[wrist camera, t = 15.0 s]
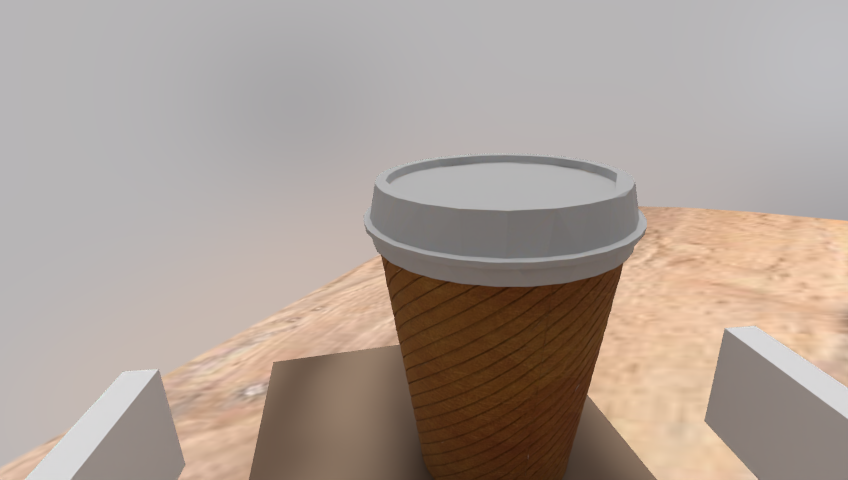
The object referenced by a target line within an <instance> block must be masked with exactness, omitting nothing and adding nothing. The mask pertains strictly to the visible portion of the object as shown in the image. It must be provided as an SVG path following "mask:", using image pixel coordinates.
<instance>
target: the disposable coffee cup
mask: <svg viewBox="0 0 848 480" xmlns="http://www.w3.org/2000/svg"><path fill="white" fill-rule="evenodd" d="M364 225H365V227H366V232H367V233H368V234H369V235H370V236H371V237H372V239H373V242H374V245H375V247H376V249H377V252H379V253H380V254H381V257H382V261H383V266H384V270H385V276H386V282H387V287H388V290H389V295H390V300H391V305H392V310H393V314H394V317H395V318H394V319H395V325H396V331H397V334H398V339H399V343H400V345H401V346H400V348H401V353H402V358H403V363H404V368H405V371H406V372H405V373H406V378H407V382H408V384H409V392H410V396H411V401H412V406H413V409H414V410H413V411H414V416H415V420H416V426H417V430H418V432H419V433H418V436H419V441H420V443H421V451H422V457H423V460H424V463H425V465H426V467H427V470H428V471H429V473H430V474H431V475H432V477H433V478H434V479H435V480H562V478H563V476H564V474H565V472H566V469H567V464H568V460H569V457H570V453H571V450H572V446H573V442H574V439H575V436H576V432H577V428H578V425H579V422H580V417H581V414H582V411H583V407H584V403H585V400H586V397H587V393H588V389H589V386H590V382H591V378H592V374H593V371H594V367H595V364H596V361H597V358H598V354H599V350H600V346H601V343H602V340H603V336H604V332H605V329H606V326H607V321H608V317H609V314H610V311H611V307H612V303H613V299H614V295H615V292H616V288H617V285H618V282H619V279H620V275H621V271H622V266H623V263H624V262H625V261H626V260H627V259H628V258H629V257H630V255H631V254H632V253H633V250H634V246H635V245H636V244H637V243H638V241H639V240H640V239H641V238H642V237H643V236H644V234H645V231H646V226H647V219H646V218H645V216H644V215H643V213H642V212H641V211H640V210H639V209H638V203H637V194H636V185H635V181H634V179H633V177H632V176H631V175H630V174H628V173H627V172H625V171H623V170H621V169H618V168H616V167H612V166H609V165H606V164H603V163H599V162H593V161H588V160H583V159H576V158H569V157H562V156H561V157H560V156H549V155H534V154H470V155H458V156H447V157H439V158H431V159H425V160H420V161H415V162H411V163H407V164H404V165H400V166H397V167H393V168H390V169H388V170H386V171H384V172H383V173H381V174H380V175H378V176H377V179H376V182H375V187H374V194H373V200H372V206H371V207H369V208H368V210H367V211H366V213H365V215H364Z"/></svg>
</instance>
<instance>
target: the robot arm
mask: <svg viewBox="0 0 848 480" xmlns="http://www.w3.org/2000/svg"><path fill="white" fill-rule="evenodd" d="M705 422H706V423H707V424H708V425H709V426H710V428H711V429H712V430H713V431H714V432H715V433H716V434H717V435H718V436H719V437H720V438H721V439H722V440H723V442H724V443H725V444H726V445H727V446H728V447H729V448H730V449H731V450H732V451H733V452H734V453H735V454H736V456H737V457H738V458H739V459H740V460H741V461H742V462H743V463H744V464H745V465H746V466H747V467H748V469H749V470H750V471H751V472H752V473H753V474H754V475H755V476H756V477H757V478H758V479H759V480H848V388H847V387H846V386H844V385H843V384H841V383H840V382H838V381H837V380H835V379H834V378H832V377H831V376H829V375H828V374H826V373H825V372H823V371H822V370H820V369H819V368H817V367H816V366H814V365H813V364H811V363H810V362H808V361H807V360H805V359H804V358H802V357H801V356H799V355H798V354H796V353H795V352H793V351H792V350H790V349H789V348H787V347H786V346H784V345H783V344H781V343H780V342H779V341H777V340H776V339H774V338H773V337H771V336H770V335H768V334H767V333H765V332H764V331H762V330H761V329H759V328H758V327H756V326H748V327H735V328H725V330H724V334H723V339H722V343H721V348H720V352H719V357H718V361H717V366H716V371H715V375H714V380H713V384H712V389H711V393H710V398H709V403H708V407H707V412H706V416H705ZM184 466H185V461H184V458H183V454H182V451H181V447H180V443H179V440H178V436H177V433H176V429H175V425H174V422H173V418H172V415H171V411H170V408H169V404H168V400H167V397H166V393H165V390H164V386H163V382H162V379H161V375H160V372H159V369H152V370H139V371H124V372H123V373H121V374H120V376H119V377H118V378H117V379H116V380H115V381H114V382H113V383H112V384H111V385H110V386H109V388H108V389H107V390H106V391H105V392H104V393H103V394H102V395H101V396H100V397H99V399H98V400H97V401H96V402H95V403H94V404H93V405H92V406H91V407H90V409H88V411H87V412H86V413H85V414H84V415H83V416H82V417H81V418H80V419H79V420H78V421H77V423H76V424H75V425H74V426H73V427H72V428H71V429H70V430H69V431H68V432H67V434H66V435H65V436H64V437H63V438H62V439H61V440H60V441H59V442H58V443H57V444H56V446H55V447H54V448H53V449H52V450H51V451H50V452H49V453H48V454H47V455H46V456H45V458H44V459H43V460H42V461H41V462H40V463H39V464H38V465H37V466H36V467H35V469H34V470H33V471H32V472H31V473H30V474H29V475H28V476H27V477H26V478H25V479H24V480H178V478H179V476H180V474H181V472H182V470H183V468H184Z"/></svg>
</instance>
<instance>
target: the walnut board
mask: <svg viewBox="0 0 848 480" xmlns="http://www.w3.org/2000/svg"><path fill="white" fill-rule="evenodd" d="M400 346H401V345H395V346H387V347H380V348H373V349H366V350H358V351H351V352H344V353H337V354H329V355H322V356H315V357H308V358H301V359H293V360H286V361H279V362H273V367H272V372H271V377H270V381H269V386H268V391H267V396H266V401H265V406H264V410H263V415H262V420H261V425H260V430H259V434H258V439H257V444H256V449H255V454H254V458H253V463H252V468H251V473H250V478H249V480H435V479H434V478H433V477H432V475H431V474H430V473H429V471H428V470H427V467H426V465H425V463H424V460H423V457H422V451H421V443H420V441H419V436H418V433H419V432H418V430H417V426H416V420H415V416H414V411H413V410H414V409H413V406H412V401H411V396H410V392H409V384H408V382H407V378H406V373H405V372H406V371H405V368H404V363H403V358H402V353H401V348H400ZM562 480H657V479H656V478H655V477H654V476H653V475H652V473H651V472H650V471H649V470H648V468H647V467H646V466H645V465H644V464H643V462H642V461H641V460H640V459H639V457H638V456H637V455H636V454H635V453H634V451H633V450H632V449H631V448H630V446H629V445H628V444H627V443H626V442H625V440H624V439H623V438H622V437H621V435H620V434H619V433H618V432H617V431H616V429H615V428H614V427H613V426H612V424H611V423H610V422H609V421H608V420H607V418H606V417H605V416H604V415H603V413H602V412H601V411H600V410H599V409H598V407H597V406H596V405H595V404H594V402H593V401H592V400H591V399H590V398H589V396H588V395H587V397H586V400H585V403H584V407H583V411H582V414H581V417H580V422H579V425H578V428H577V432H576V436H575V439H574V442H573V446H572V450H571V453H570V457H569V460H568V464H567V469H566V472H565V474H564V476H563V478H562Z"/></svg>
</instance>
